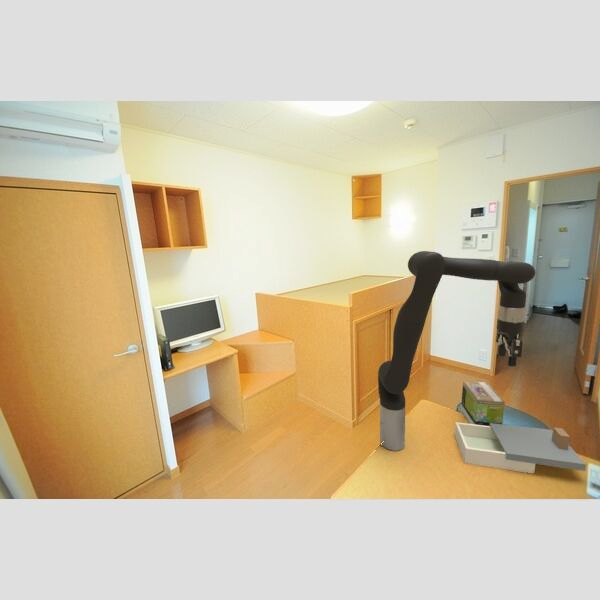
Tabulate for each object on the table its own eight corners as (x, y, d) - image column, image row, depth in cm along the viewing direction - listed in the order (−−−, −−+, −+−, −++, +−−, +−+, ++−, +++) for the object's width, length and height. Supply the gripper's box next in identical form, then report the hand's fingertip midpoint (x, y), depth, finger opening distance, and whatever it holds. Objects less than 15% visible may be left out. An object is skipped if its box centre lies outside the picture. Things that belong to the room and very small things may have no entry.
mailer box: (464, 463, 93) (466, 448, 92) (454, 435, 106) (455, 422, 105) (534, 473, 87) (536, 458, 86) (514, 443, 100) (515, 429, 99)
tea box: (502, 434, 105) (506, 401, 102) (474, 432, 107) (476, 400, 104) (484, 411, 119) (487, 381, 116) (460, 409, 121) (462, 380, 118)
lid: (506, 459, 88) (508, 440, 87) (488, 428, 103) (490, 411, 101) (585, 471, 82) (588, 450, 81) (554, 436, 96) (557, 418, 95)
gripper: (490, 312, 102) (487, 352, 105) (507, 324, 89) (502, 368, 92) (514, 313, 100) (509, 353, 103) (534, 324, 86) (528, 370, 90)
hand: (506, 360), depth 98 cm, fingers open, 8 cm apart
